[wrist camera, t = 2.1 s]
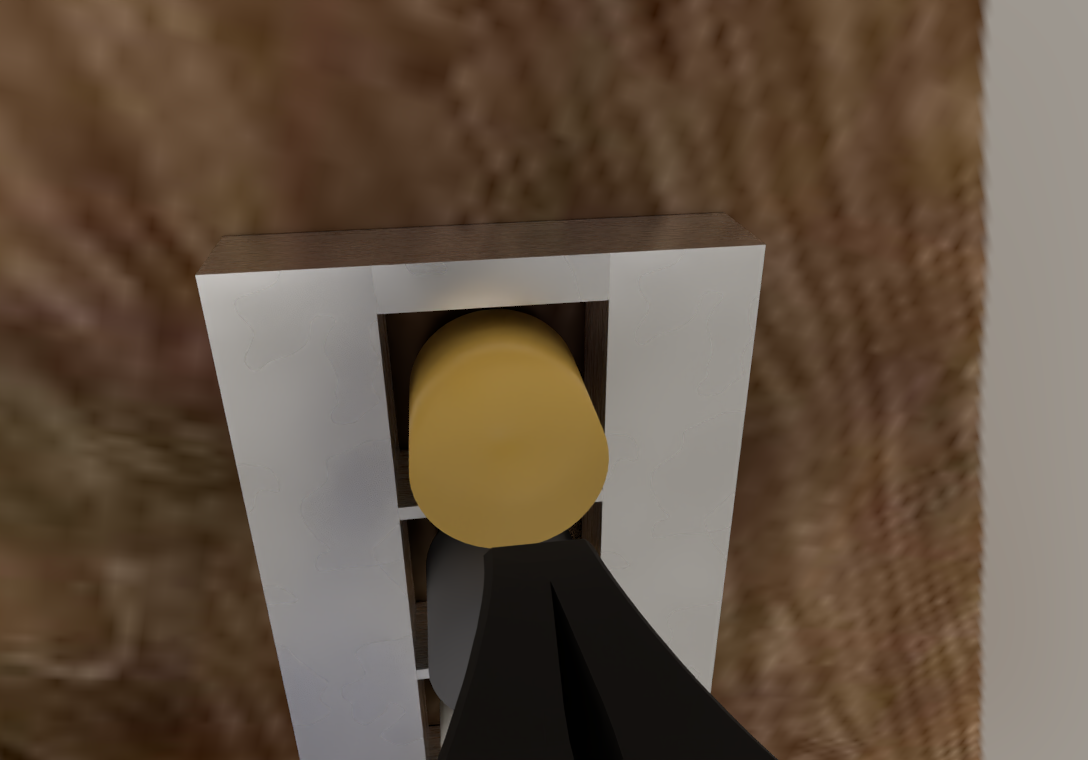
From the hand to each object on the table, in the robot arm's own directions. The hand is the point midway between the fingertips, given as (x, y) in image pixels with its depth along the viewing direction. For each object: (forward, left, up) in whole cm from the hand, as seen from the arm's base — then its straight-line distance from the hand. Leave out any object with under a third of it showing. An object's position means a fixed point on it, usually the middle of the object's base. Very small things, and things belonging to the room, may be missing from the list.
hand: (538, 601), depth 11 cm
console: (-5, 0, -8) cm, 9 cm away
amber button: (0, 0, -6) cm, 6 cm away
